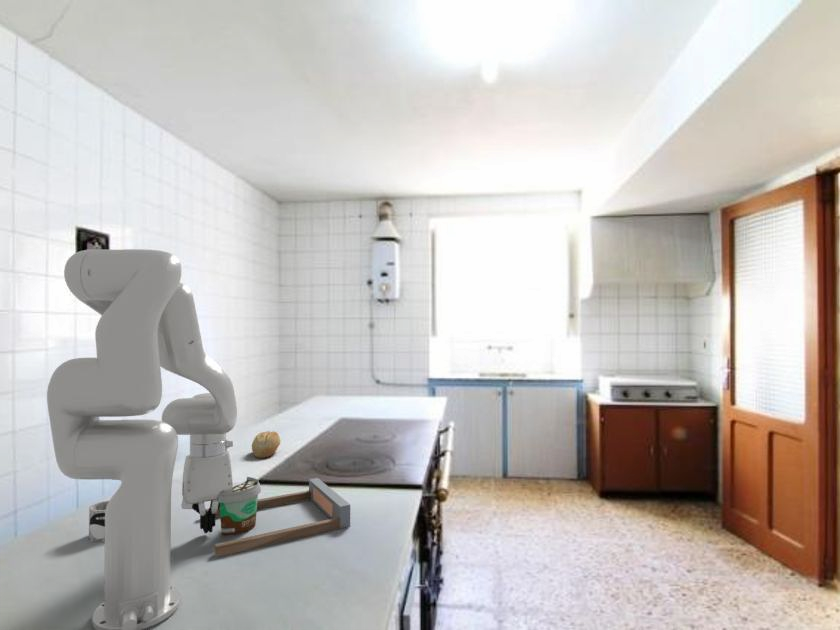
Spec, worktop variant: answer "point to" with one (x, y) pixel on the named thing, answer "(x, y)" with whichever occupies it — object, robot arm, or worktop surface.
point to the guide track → (280, 534)
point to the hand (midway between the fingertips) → (207, 530)
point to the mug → (97, 521)
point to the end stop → (329, 502)
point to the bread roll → (265, 444)
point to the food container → (239, 508)
